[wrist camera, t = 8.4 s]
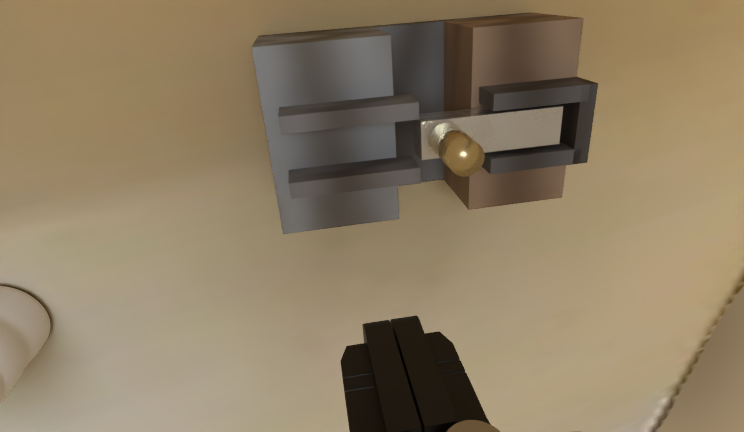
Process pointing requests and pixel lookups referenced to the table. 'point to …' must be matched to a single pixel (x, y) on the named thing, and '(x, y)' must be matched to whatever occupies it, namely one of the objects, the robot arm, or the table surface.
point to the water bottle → (19, 335)
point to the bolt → (483, 134)
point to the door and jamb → (413, 111)
